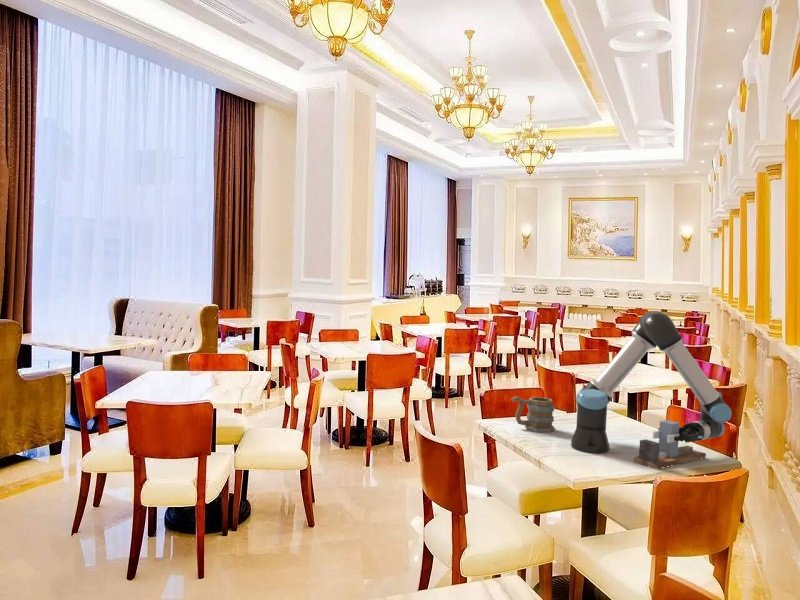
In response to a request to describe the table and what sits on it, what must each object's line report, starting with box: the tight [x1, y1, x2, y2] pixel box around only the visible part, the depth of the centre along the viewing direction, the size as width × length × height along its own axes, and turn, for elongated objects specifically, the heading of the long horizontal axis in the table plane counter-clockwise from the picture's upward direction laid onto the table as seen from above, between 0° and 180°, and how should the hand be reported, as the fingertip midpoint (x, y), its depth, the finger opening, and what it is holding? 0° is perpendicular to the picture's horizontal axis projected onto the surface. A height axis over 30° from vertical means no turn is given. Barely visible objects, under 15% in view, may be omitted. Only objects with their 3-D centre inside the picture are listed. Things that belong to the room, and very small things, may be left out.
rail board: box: [633, 439, 707, 470], centre depth 241 cm, size 10×32×9 cm, turn 123°
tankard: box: [510, 395, 556, 434], centre depth 282 cm, size 20×13×15 cm, turn 89°
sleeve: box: [658, 419, 680, 458], centre depth 240 cm, size 5×5×13 cm
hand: (661, 437), depth 237 cm, fingers open, 5 cm apart
